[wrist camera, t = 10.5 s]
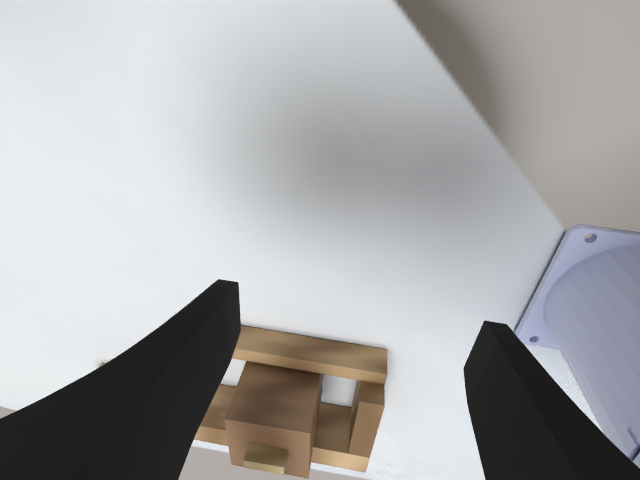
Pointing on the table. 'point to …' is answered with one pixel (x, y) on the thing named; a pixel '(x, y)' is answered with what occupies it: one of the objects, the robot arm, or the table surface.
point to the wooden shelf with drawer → (333, 421)
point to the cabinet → (274, 419)
